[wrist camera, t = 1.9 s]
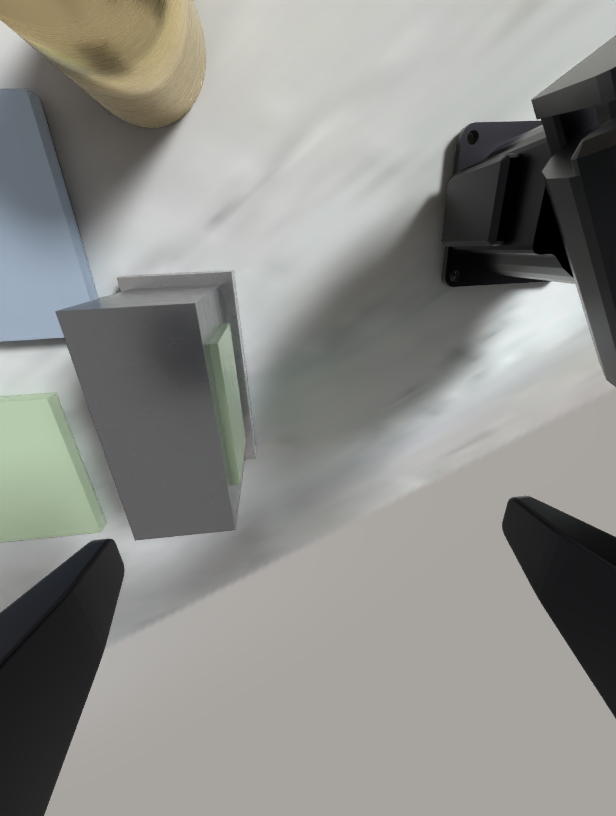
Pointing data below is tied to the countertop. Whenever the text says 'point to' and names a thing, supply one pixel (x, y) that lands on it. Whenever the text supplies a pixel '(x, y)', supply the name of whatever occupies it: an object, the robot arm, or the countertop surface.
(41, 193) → the slate mat
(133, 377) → the grey block with base
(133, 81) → the gold metal cylinder
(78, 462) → the sage mat
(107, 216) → the countertop surface
